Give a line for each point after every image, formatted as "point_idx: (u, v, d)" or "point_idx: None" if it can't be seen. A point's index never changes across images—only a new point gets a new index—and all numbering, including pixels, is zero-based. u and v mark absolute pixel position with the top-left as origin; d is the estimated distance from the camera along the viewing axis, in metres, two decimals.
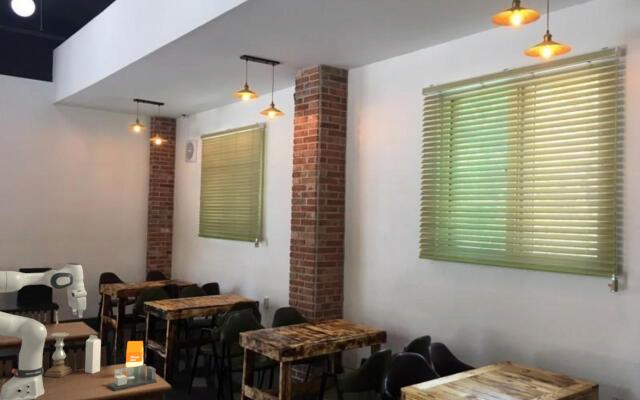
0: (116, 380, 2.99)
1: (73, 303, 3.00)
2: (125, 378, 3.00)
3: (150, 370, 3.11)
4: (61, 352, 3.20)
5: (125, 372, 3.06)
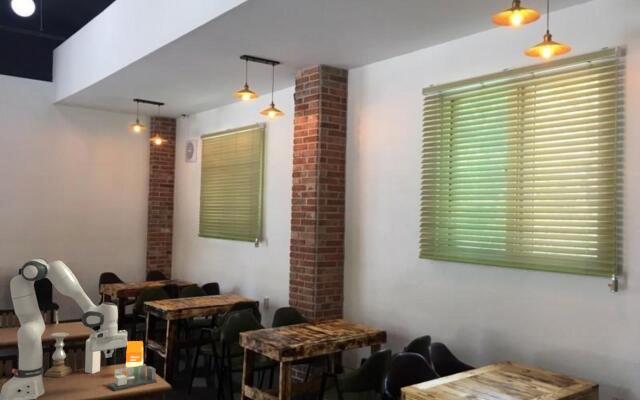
0: (116, 380, 2.99)
1: None
2: (125, 378, 3.00)
3: (150, 370, 3.11)
4: (61, 352, 3.20)
5: (125, 372, 3.06)
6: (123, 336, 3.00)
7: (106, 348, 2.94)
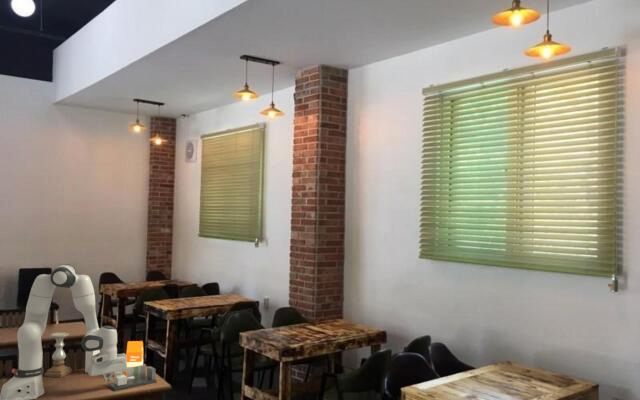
0: (116, 380, 2.99)
1: None
2: (125, 378, 3.00)
3: (150, 370, 3.11)
4: (61, 352, 3.20)
5: (125, 372, 3.06)
6: (123, 359, 3.00)
7: (105, 372, 2.94)
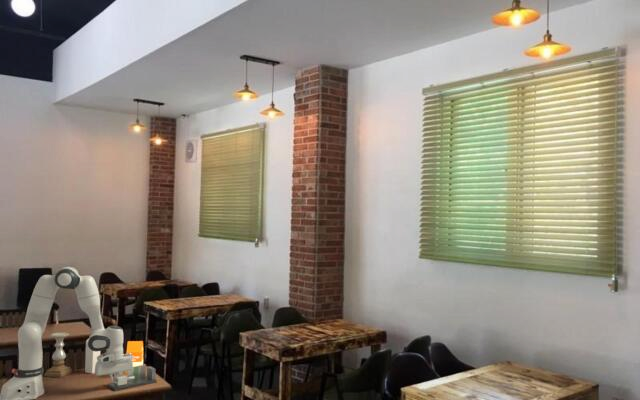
0: (116, 380, 2.99)
1: None
2: (125, 378, 3.00)
3: (150, 370, 3.11)
4: (61, 352, 3.20)
5: (125, 372, 3.06)
6: (129, 359, 3.02)
7: (112, 372, 2.96)
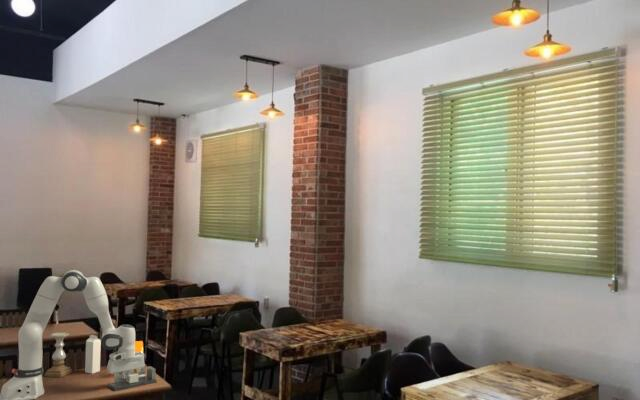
0: (128, 378, 3.03)
1: None
2: (137, 376, 3.05)
3: (150, 370, 3.11)
4: (61, 352, 3.20)
5: (136, 370, 3.10)
6: (140, 357, 3.07)
7: (124, 370, 3.00)
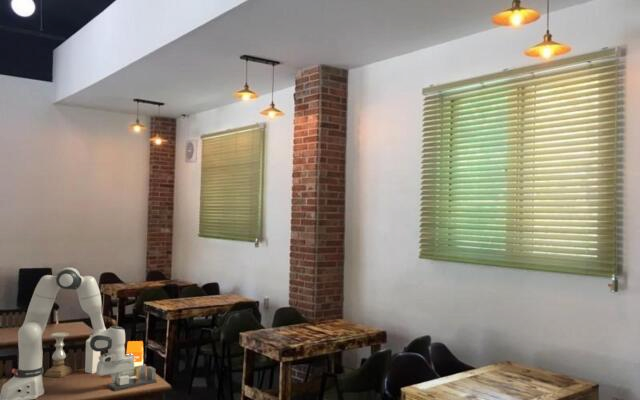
0: (118, 380, 3.00)
1: None
2: (127, 378, 3.01)
3: (150, 370, 3.11)
4: (61, 352, 3.20)
5: (136, 370, 3.10)
6: (130, 359, 3.03)
7: (113, 372, 2.97)
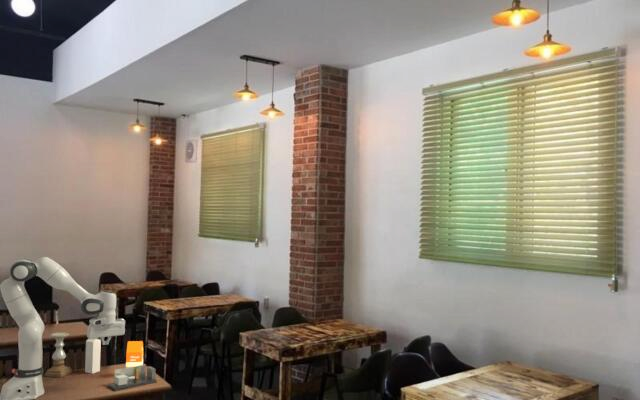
0: (116, 380, 2.99)
1: None
2: (125, 378, 3.00)
3: (150, 370, 3.11)
4: (61, 352, 3.20)
5: (136, 370, 3.10)
6: (121, 324, 3.05)
7: (103, 335, 2.98)
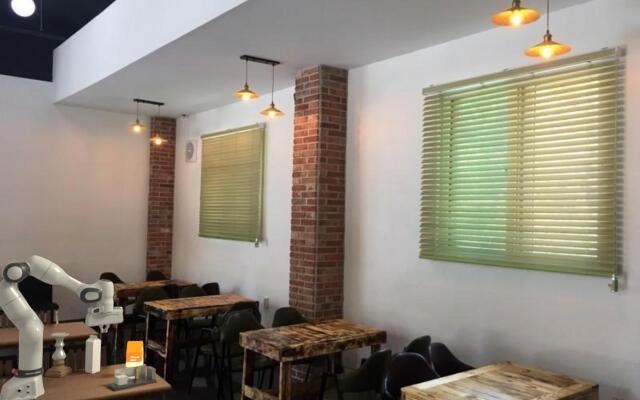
0: (116, 380, 2.99)
1: None
2: (125, 378, 3.00)
3: (150, 370, 3.11)
4: (61, 352, 3.20)
5: (136, 370, 3.10)
6: (119, 312, 3.10)
7: (102, 323, 3.03)
